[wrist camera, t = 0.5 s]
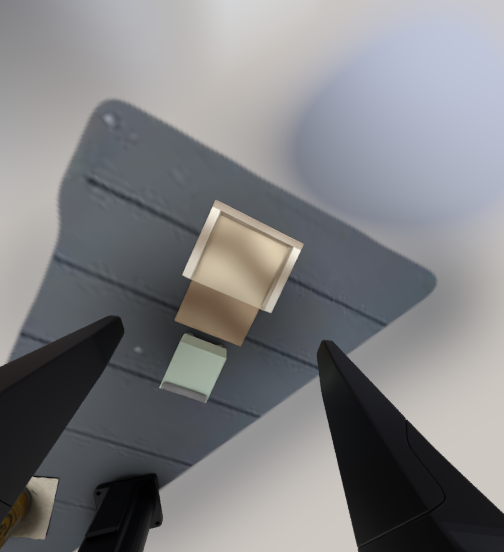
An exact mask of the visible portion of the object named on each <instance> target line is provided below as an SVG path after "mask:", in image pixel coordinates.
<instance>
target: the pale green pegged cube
mask: <svg viewBox="0 0 504 552" xmlns="http://www.w3.org/2000/svg"><path fill="white" fill-rule="evenodd" d="M225 361H226V349H225V348H224V346H223V345H221V344H218V345H214V344H212V343H209V342H206V341H204V340H201V339H198V338H196V337H194V335H193V334H192V333H186V334H185V333H184V335H183V337H182V339H181V341H180V343H179V345H178V347H177V350H176V352H175V354H174V356H173V358H172V361H171V363H170V365H169V367H168V369H167V372H166V374H165V376H164V378H163V380H162V383H161V385H160V387H159V388H161V389H164V390H167V391H170V392H173V393H176V394H179V395H182V396H185V397H189V398H192V399H195V400H198V401H201V402H204V403H206V402H207V400H208V397H209V395H210V393H211V391H212V389H213V387H214V384H215V382H216V380H217V378H218V376H219V374H220V372H221V369H222V367H223V365H224V363H225Z"/></svg>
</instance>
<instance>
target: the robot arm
mask: <svg viewBox="0 0 504 552" xmlns="http://www.w3.org/2000/svg"><path fill="white" fill-rule="evenodd" d="M123 335H124V327H123V324H122V320H121V318H120V317H119V316H112V315H110V316H107V317H105V318H103V319H101V320H98V321H96V322H94V323H92V324H90V325H88V326H86V327H84V328H81V329H79V330H77V331H75V332H73V333H71V334H69V335H67V336H65V337H62V338H60V339H58V340H56V341H54V342H52V343H50V344H48V345H45V346H43V347H41V348H39V349H37V350H35V351H33V352H31V353H28V354H26V355H24V356H22V357H20V358H18V359H16V360H14V361H11V362H9V363H7V364H5V365H3V366H1V367H0V525H1V523H2V522H3V520H4V519H5V517H6V516H7V514H8V513H9V511H10V510H11V508H12V506H13V505H14V504H15V502H16V501H17V499H18V498H19V496H20V495H21V493H22V492H23V490H24V489H25V487H26V486H27V484H28V483H29V481H30V480H31V478H32V477H33V475H34V474H35V472H36V471H37V469H38V468H39V466H40V465H41V463H42V462H43V460H44V459H45V457H46V456H47V454H48V453H49V451H50V450H51V448H52V447H53V446H54V444H55V443H56V441H57V440H58V438H59V437H60V435H61V434H62V432H63V431H64V429H65V428H66V426H67V425H68V423H69V422H70V420H71V419H72V417H73V416H74V414H75V413H76V411H77V410H78V408H79V407H80V405H81V404H82V402H83V401H84V399H85V398H86V396H87V395H88V393H89V392H90V390H91V389H92V387H93V386H94V384H95V383H96V381H97V380H98V378H99V377H100V375H101V374H102V372H103V371H104V369H105V368H106V366H107V364H108V363H109V361H110V359H111V357H112V355H113V353H114V352H115V350H116V348H117V346H118V344H119V342H120V340H121V339H122V337H123ZM317 361H318V370H319V378H320V385H321V392H322V397H323V402H324V406H325V410H326V415H327V419H328V423H329V428H330V432H331V436H332V440H333V445H334V449H335V453H336V457H337V462H338V466H339V470H340V475H341V479H342V483H343V488H344V492H345V496H346V500H347V505H348V509H349V513H350V518H351V522H352V526H353V530H354V534H355V539H356V543H357V547H358V552H504V513H502V512H501V511H500V510H499V509H498V508H497V507H496V506H495V505H494V504H493V503H492V502H491V501H490V500H489V499H487V497H486V496H484V495H483V494H482V493H481V492H480V491H479V490H478V489H477V488H476V487H475V486H474V485H473V484H472V483H470V481H469V480H468V479H466V478H465V477H464V476H463V475H462V474H461V473H460V472H459V471H458V470H457V469H456V468H455V467H454V466H453V465H452V464H451V463H450V462H449V461H447V459H446V458H445V457H444V456H442V455H441V454H440V453H439V452H438V451H437V450H436V449H435V448H434V447H433V446H432V445H431V444H430V443H429V442H428V441H427V440H426V439H425V438H424V437H423V435H421V433H420V432H418V430H417V429H416V428H415V427H414V426H413V425H412V424H411V423H410V422H409V421H408V420H406V418H405V417H404V416H403V415H402V414H401V413H400V412H399V410H398V409H396V407H395V406H394V405H393V404H392V403H391V402H390V401H389V400H388V399H387V398H386V397H385V396H384V395H383V394H382V393H381V392H380V391H379V389H378V388H377V387H376V386H375V385H374V384H373V383H372V382H371V381H370V380H369V379H368V378H367V377H366V376H365V375H364V374H363V373H362V372H361V371H360V369H359V368H358V367H357V366H356V365H355V364H354V363H353V362H352V361H351V360H350V359H349V358H348V357H347V356H346V355H345V354H344V353H343V352H342V351H341V349H340V348H339V347H338V346H337V345H336V344H335V343H334V342H333V341H330V340H322V342H321V344H320V347H319V349H318V352H317ZM94 498H95V503H96V508H97V512H96V514H95V516H94V518H93V520H92V522H91V524H90V526H89V528H88V530H87V532H86V534H85V538H84V540H83V542H82V544H81V546H80V548H79V550H78V552H143V550H144V546H145V543H146V539H147V535H148V532H149V529H151V528H155V527H159V526H160V525H161V524H162V521H163V515H162V509H161V503H160V496H159V490H158V484H157V478H156V476H155V475H148V476H143V477H138V478H133V479H128V480H124V481H119V482H114V483H109V484H104V485H100V486H98V487H97V488H96V490H95V492H94Z"/></svg>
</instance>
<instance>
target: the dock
mask: <svg viewBox="0 0 504 552" xmlns="http://www.w3.org/2000/svg"><path fill="white" fill-rule="evenodd" d="M303 245H304V244H302V243H301V242H299V241H297V240H295V239H293V238H291V237H289V236H287V235H285V234H283V233H281V232H279V231H277V230H275V229H273V228H271V227H269V226H267V225H265V224H263V223H261V222H259V221H257V220H255V219H253V218H251V217H249V216H247V215H245V214H243V213H241V212H239V211H237V210H235V209H233V208H231V207H229V206H227V205H225V204H223V203H221V202H219V201H217V200H215V203H214V205H213V207H212V209H211V212H210V214H209V216H208V218H207V221H206V223H205V225H204V227H203V230H202V232H201V234H200V236H199V239H198V241H197V243H196V245H195V248H194V250H193V252H192V254H191V256H190V259H189V261H188V263H187V265H186V268H185V270H184V272H183V274H182V275H183V276H185V277H186V278H189V279H191V280H192V281H191V283H190V286H189V288H188V290H187V293H186V295H185V297H184V300H183V302H182V304H181V306H180V309H179V311H178V313H177V316H176V318H175V320H174V321H176V322H179V323H181V324H184V325H187V326H189V327H192V328H194V329H197V330H199V331H202V332H205V333H207V334H210V335H212V336H215V337H218V338H220V339H223V340H225V341H228V342H230V343H233V344H236V345H238V346H241V345H242V343H243V341H244V339H245V337H246V335H247V333H248V331H249V329H250V327H251V325H252V323H253V321H254V319H255V317H256V315H257V313H258V311H259V309H261V310H264V311H267V312H269V313H272V311H273V309H274V306H275V304H276V302H277V300H278V298H279V296H280V294H281V291H282V289H283V287H284V285H285V283H286V281H287V279H288V277H289V274H290V272H291V270H292V268H293V266H294V264H295V262H296V260H297V257H298V255H299V253H300V251H301V249H302V247H303Z"/></svg>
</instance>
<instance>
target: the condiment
mask: <svg viewBox="0 0 504 552" xmlns="http://www.w3.org/2000/svg"><path fill="white" fill-rule="evenodd" d="M57 484H58V479H54V478H53V479H49V478H43V477H41V478H36V477H32V478H31V480H30V481H29V483H28V484H27V486H26V487H25V489H24V490H23V492H22V493H21V495H20V496H19V498H18V499H17V501H16V502H15V504H14V505H13V506H12V508H11V510H10V511H9V513H8V514H7V516H6V517H5V519H4V520H3V522H2V523H1V525H0V549H1V548H2V546H3V545H4V544H5V542H6V541H7V540H8V538H11V537H28V538H32V539H45V536H46V532H47V529H48V525H49V520H50V517H51V512H52V508H53V504H54V498H55V494H56V490H57ZM32 490H33V491H34V492H35V493H37V495H35V494H34V492H31V491H32Z"/></svg>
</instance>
